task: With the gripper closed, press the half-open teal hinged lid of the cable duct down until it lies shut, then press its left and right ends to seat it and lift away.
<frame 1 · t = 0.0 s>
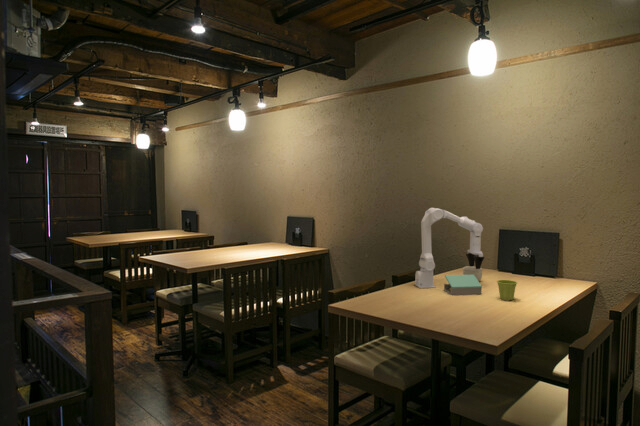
hand: (474, 267, 240), 10 cm above the table, tool pointing down, fingers open, 7 cm apart
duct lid: (463, 281, 223), point 6 cm above the table, hinge at 25.0°
plant pot: (506, 299, 211), on the table
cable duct: (462, 292, 224), on the table
teacup: (471, 281, 253), on the table
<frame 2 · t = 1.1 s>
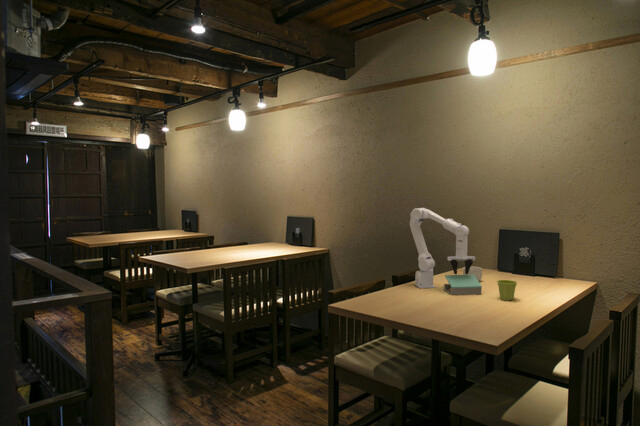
hand: (461, 273, 225), 9 cm above the table, tool pointing down, fingers open, 6 cm apart
nothing on the table moved.
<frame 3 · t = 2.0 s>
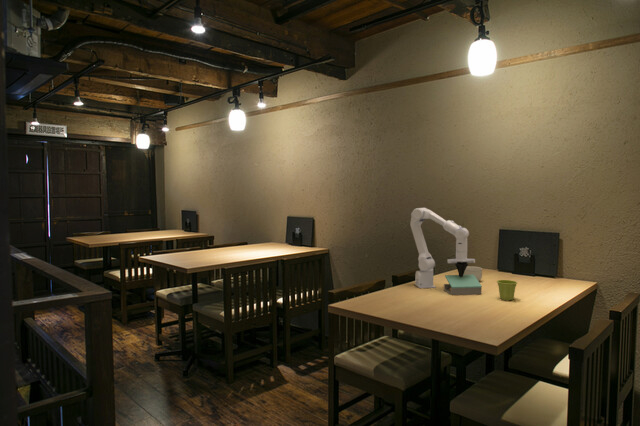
hand: (461, 276, 225), 8 cm above the table, tool pointing down, fingers closed, pressing on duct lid
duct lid: (463, 281, 223), point 6 cm above the table, hinge at 25.0°, touching gripper
everything else where it was.
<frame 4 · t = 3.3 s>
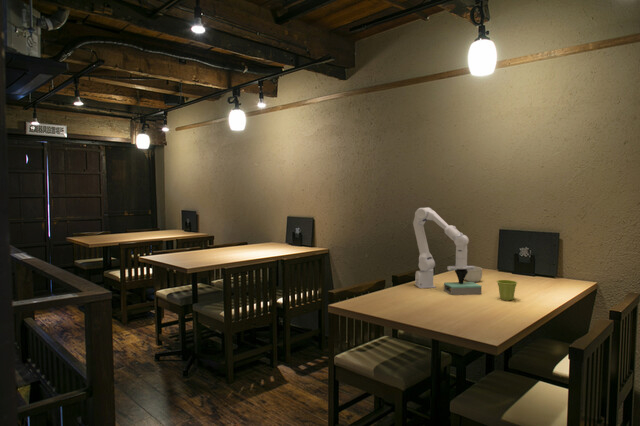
hand: (460, 283, 226), 4 cm above the table, tool pointing down, fingers closed, pressing on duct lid
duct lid: (462, 284, 224), point 4 cm above the table, hinge at -0.6°, touching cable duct, gripper
everything else where it was.
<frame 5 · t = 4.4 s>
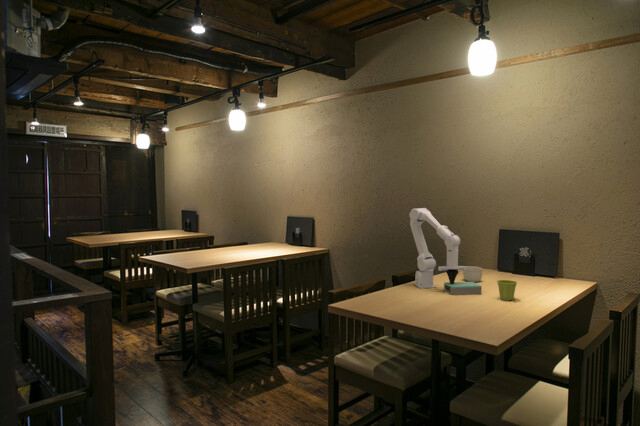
hand: (451, 283, 225), 4 cm above the table, tool pointing down, fingers closed, pressing on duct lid
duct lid: (462, 284, 224), point 4 cm above the table, hinge at -0.5°, touching gripper
everything else where it was.
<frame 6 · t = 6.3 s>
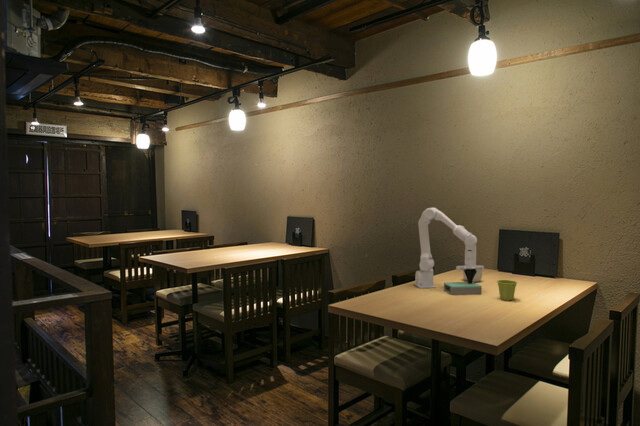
hand: (469, 283, 226), 4 cm above the table, tool pointing down, fingers closed, pressing on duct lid
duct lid: (462, 284, 224), point 4 cm above the table, hinge at -0.5°, touching gripper
everything else where it was.
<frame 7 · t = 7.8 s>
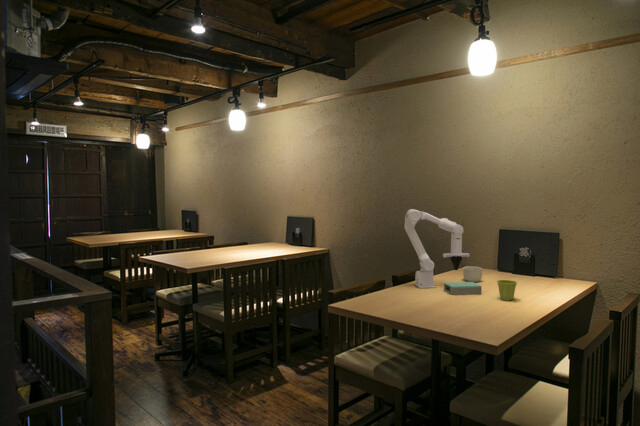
hand: (455, 269, 236), 9 cm above the table, tool pointing down, fingers closed
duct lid: (462, 284, 224), point 4 cm above the table, hinge at -0.5°
everything else where it was.
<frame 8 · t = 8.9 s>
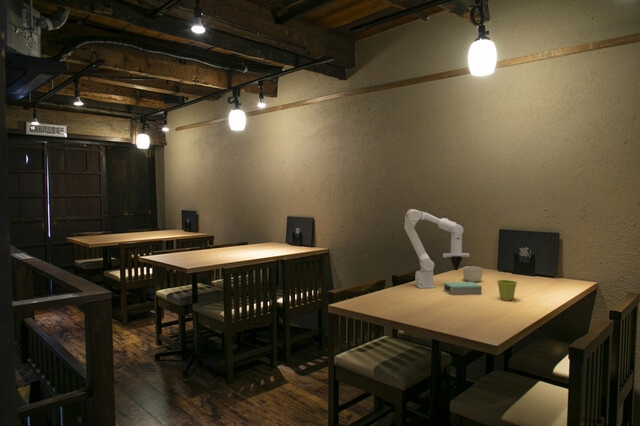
hand: (455, 269, 236), 9 cm above the table, tool pointing down, fingers closed
nothing on the table moved.
at the end: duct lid at +0° (first picture: +25°) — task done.
